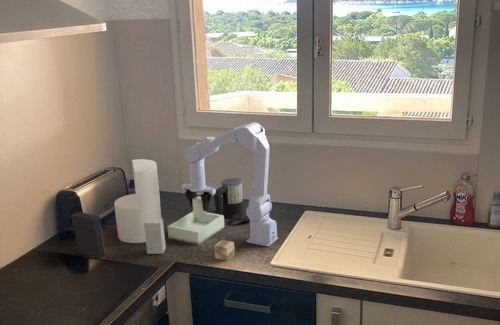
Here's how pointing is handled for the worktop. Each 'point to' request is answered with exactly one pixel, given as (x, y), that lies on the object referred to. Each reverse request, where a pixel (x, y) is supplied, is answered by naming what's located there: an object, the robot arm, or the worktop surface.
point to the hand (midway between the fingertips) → (199, 209)
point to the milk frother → (230, 199)
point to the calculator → (88, 234)
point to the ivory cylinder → (198, 207)
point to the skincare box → (154, 236)
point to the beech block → (224, 250)
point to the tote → (195, 228)
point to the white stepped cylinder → (139, 203)
